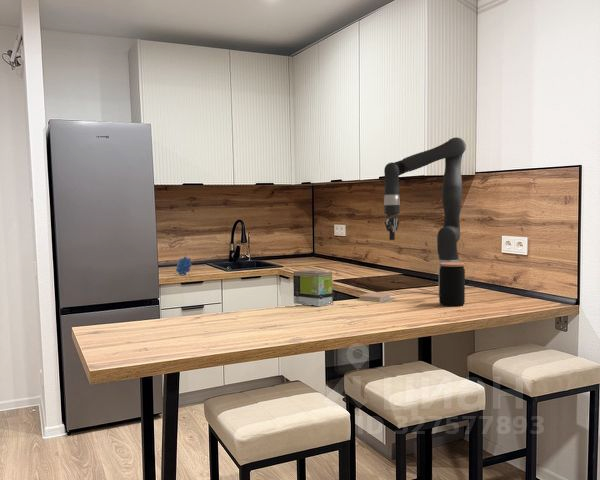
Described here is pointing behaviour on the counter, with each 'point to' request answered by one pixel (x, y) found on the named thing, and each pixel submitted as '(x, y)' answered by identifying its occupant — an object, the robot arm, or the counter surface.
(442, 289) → the coffee jar
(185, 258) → the grapes
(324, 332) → the counter surface
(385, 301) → the slate board
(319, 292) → the tea box
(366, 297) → the tile
